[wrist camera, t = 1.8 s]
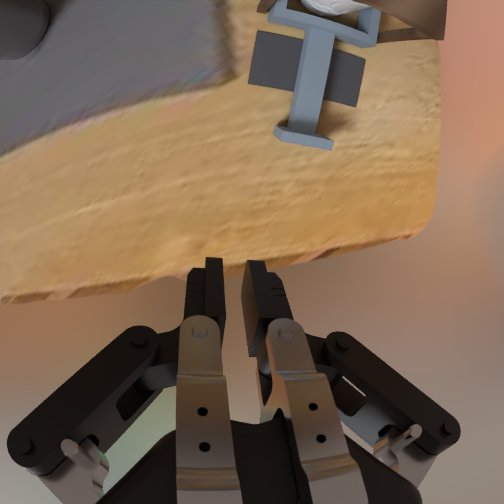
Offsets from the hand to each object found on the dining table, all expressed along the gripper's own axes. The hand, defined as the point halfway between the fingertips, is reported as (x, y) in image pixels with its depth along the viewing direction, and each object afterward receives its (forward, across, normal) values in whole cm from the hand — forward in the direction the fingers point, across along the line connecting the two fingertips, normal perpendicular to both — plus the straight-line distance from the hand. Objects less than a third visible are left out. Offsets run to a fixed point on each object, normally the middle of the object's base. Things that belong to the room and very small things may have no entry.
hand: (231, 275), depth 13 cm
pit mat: (+25, -9, -12) cm, 29 cm away
